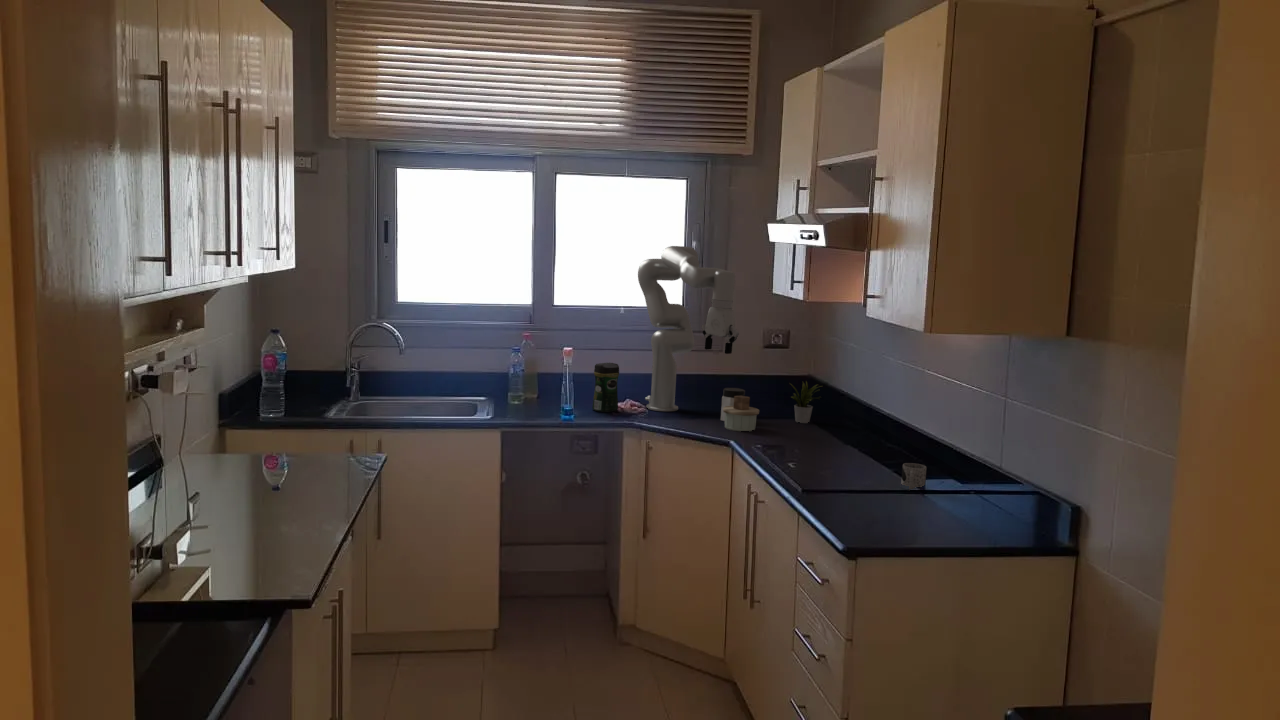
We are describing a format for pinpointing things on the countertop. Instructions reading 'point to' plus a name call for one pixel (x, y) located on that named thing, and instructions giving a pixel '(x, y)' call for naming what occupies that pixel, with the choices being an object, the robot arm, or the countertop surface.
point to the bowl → (740, 422)
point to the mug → (913, 475)
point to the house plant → (803, 403)
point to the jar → (730, 398)
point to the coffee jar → (606, 387)
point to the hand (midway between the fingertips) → (718, 351)
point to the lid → (741, 407)
